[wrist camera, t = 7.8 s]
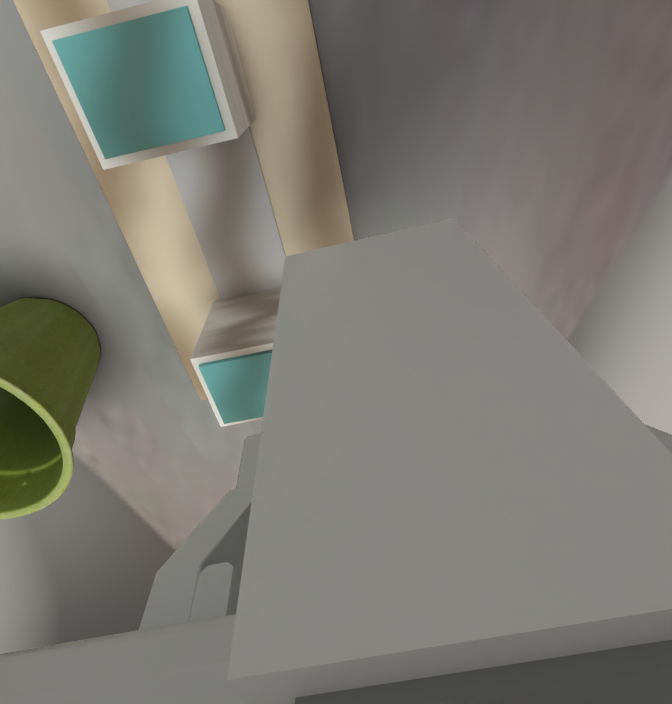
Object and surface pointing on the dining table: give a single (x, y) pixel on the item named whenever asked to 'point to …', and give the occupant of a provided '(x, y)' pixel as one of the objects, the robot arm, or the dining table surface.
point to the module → (446, 497)
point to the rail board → (204, 162)
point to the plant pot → (41, 399)
